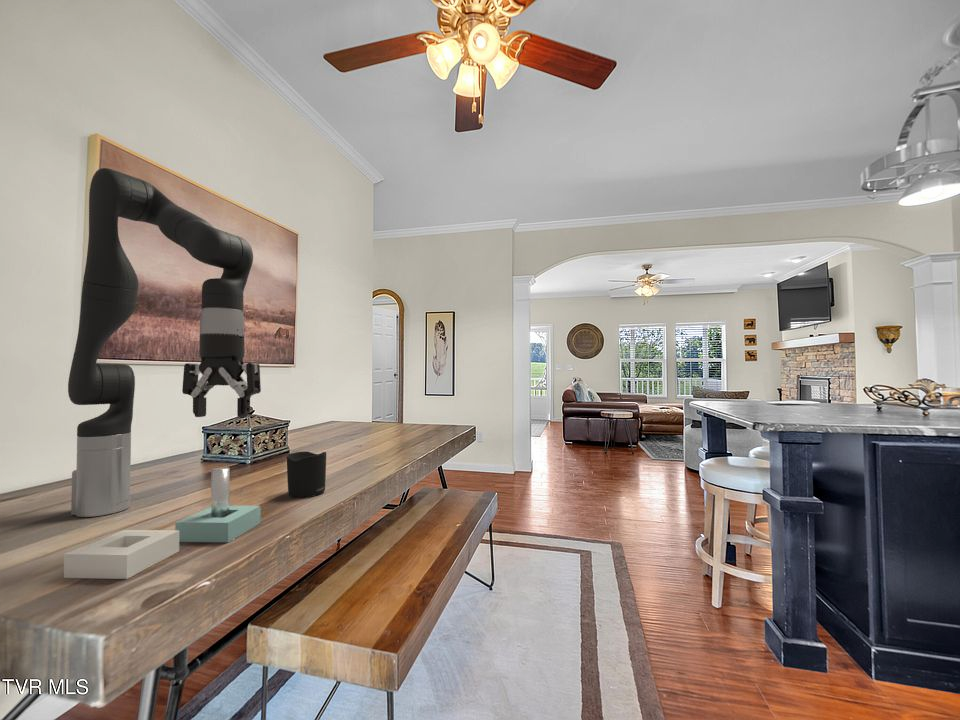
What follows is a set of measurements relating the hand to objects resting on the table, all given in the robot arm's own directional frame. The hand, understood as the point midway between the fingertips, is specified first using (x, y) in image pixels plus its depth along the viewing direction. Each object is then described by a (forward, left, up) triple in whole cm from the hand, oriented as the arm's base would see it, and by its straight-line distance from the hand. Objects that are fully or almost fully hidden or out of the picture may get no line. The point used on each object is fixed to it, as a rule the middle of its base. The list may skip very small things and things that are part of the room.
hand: (221, 416), depth 83 cm
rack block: (0, 0, -22) cm, 22 cm away
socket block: (-6, -14, -22) cm, 27 cm away
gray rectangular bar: (0, 0, -22) cm, 22 cm away
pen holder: (+4, +27, -22) cm, 35 cm away
